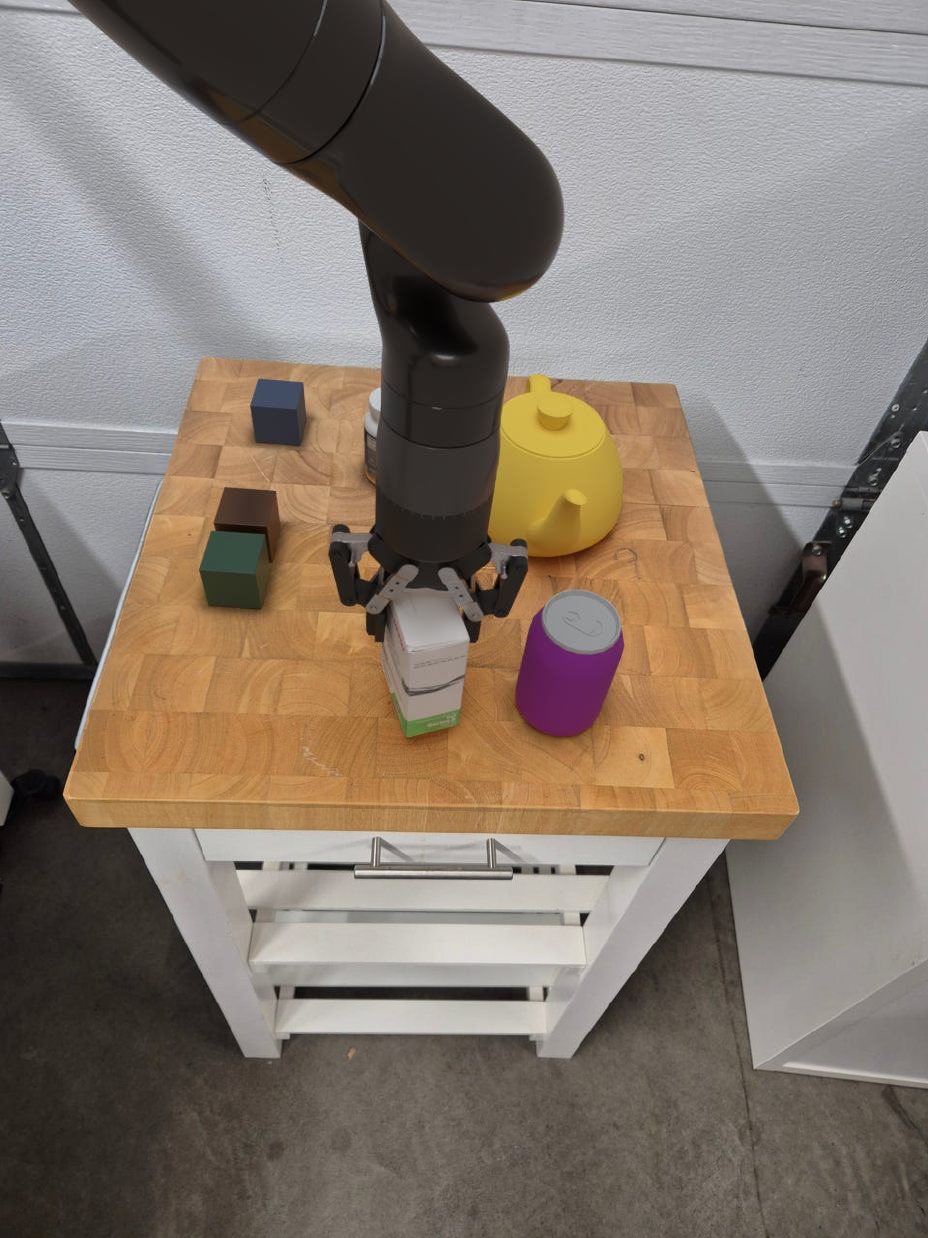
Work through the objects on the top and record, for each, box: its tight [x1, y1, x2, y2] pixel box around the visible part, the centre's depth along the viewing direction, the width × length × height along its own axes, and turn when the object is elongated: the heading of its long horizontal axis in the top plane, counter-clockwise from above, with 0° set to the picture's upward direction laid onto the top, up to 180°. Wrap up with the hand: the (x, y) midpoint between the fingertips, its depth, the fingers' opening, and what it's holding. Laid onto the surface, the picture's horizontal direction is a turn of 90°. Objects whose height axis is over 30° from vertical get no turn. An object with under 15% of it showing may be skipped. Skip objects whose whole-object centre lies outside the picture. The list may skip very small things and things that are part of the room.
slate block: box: [249, 378, 307, 447], centre depth 91 cm, size 5×5×5 cm
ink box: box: [379, 587, 470, 738], centre depth 65 cm, size 9×5×12 cm, turn 17°
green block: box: [198, 530, 271, 610], centre depth 76 cm, size 5×5×5 cm
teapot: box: [488, 373, 625, 558], centre depth 82 cm, size 25×18×14 cm
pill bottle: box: [363, 386, 381, 485], centre depth 86 cm, size 6×6×10 cm
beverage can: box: [515, 588, 625, 737], centre depth 68 cm, size 8×8×12 cm
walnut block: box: [213, 486, 282, 563], centre depth 80 cm, size 5×5×5 cm
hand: (422, 636), depth 63 cm, fingers closed on ink box, 6 cm apart
